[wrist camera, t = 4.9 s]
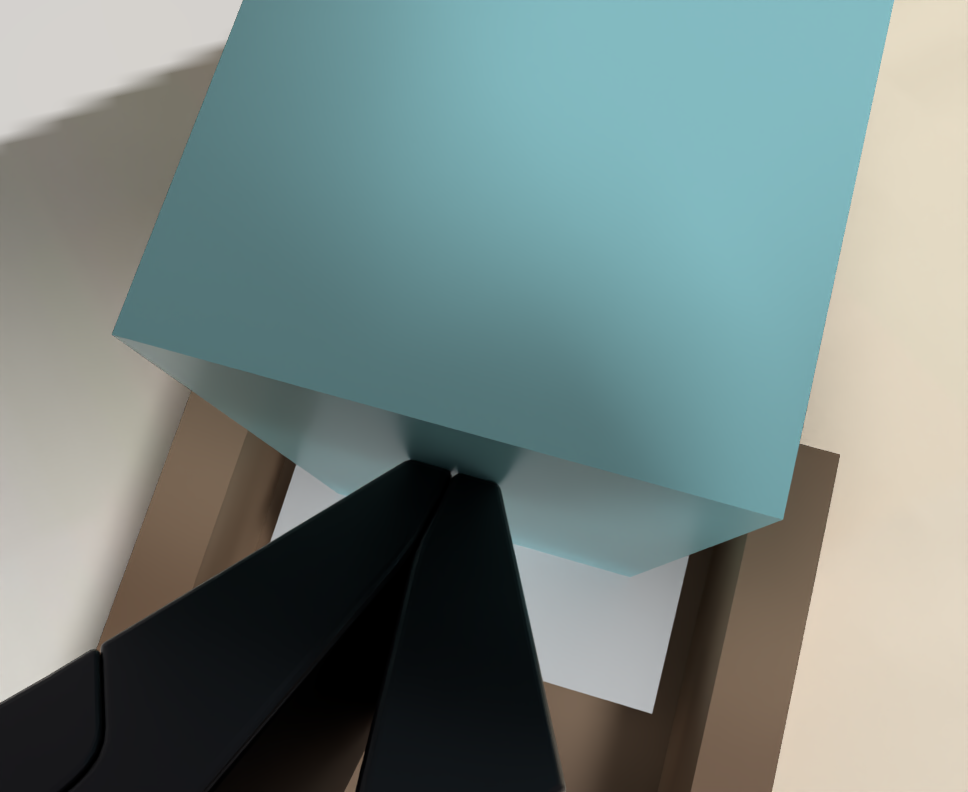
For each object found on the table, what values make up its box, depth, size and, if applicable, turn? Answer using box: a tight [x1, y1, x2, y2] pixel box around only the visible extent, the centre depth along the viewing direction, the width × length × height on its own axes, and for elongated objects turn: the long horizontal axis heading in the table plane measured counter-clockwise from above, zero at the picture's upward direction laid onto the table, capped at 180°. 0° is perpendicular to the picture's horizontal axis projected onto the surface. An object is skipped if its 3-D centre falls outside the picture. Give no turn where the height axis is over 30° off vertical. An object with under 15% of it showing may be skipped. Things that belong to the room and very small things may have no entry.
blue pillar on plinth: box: [112, 0, 894, 714], centre depth 11 cm, size 8×6×9 cm
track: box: [96, 391, 840, 792], centre depth 13 cm, size 11×9×2 cm
